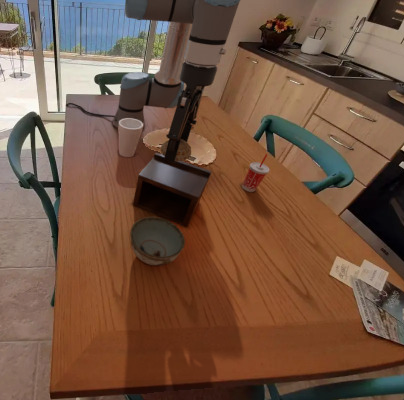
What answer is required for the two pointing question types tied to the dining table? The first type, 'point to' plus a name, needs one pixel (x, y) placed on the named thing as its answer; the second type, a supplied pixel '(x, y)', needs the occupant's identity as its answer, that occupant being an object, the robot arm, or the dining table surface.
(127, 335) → the dining table surface
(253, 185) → the beverage cup
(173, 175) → the shelf
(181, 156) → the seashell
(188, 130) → the robot arm
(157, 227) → the bowl
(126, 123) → the foam cup
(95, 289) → the dining table surface
